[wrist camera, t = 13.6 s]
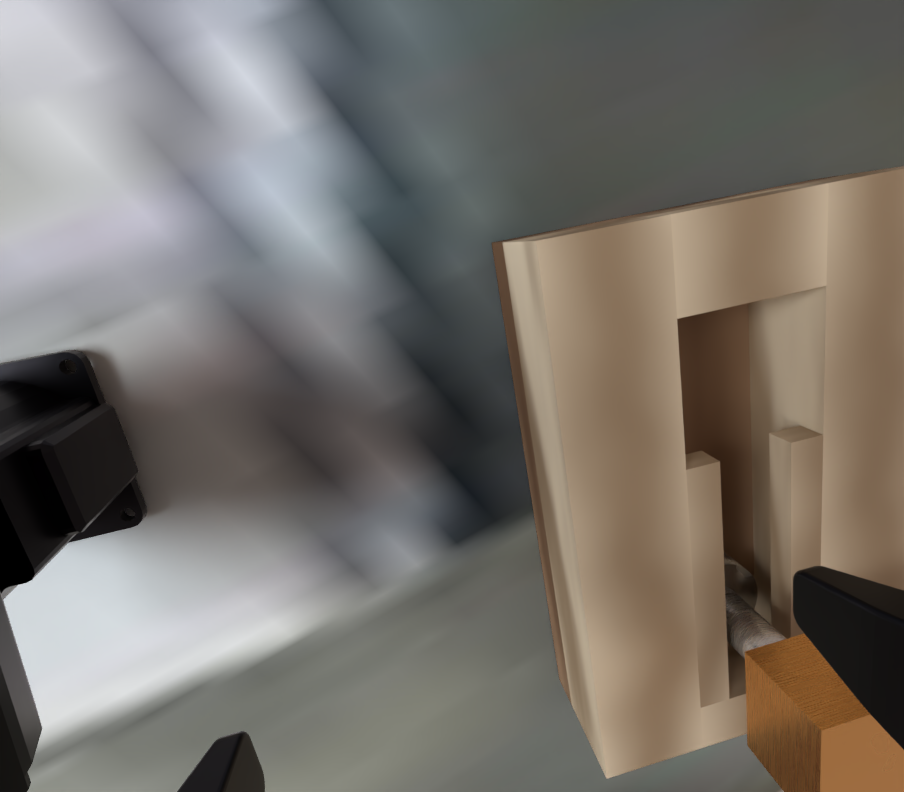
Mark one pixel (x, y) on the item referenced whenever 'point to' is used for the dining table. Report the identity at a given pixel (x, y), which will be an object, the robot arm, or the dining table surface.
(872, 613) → the robot arm
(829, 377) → the keyhole track
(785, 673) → the peg
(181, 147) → the dining table surface
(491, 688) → the dining table surface
